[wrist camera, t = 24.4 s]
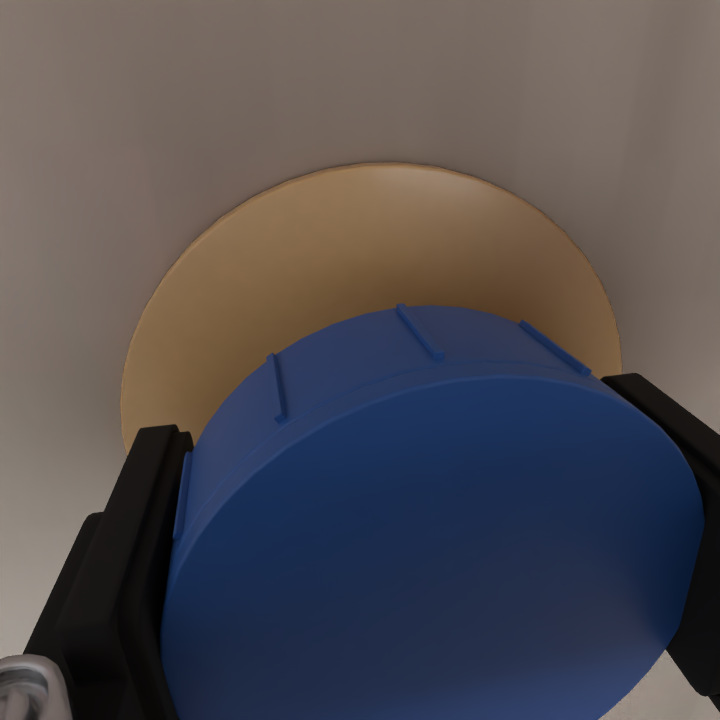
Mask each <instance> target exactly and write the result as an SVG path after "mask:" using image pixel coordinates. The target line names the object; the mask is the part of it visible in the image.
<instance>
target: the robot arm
mask: <svg viewBox="0 0 720 720" xmlns="http://www.w3.org/2000/svg"><path fill="white" fill-rule="evenodd" d="M600 381H602V382H603V383H604V384H606V385H607V386H608V387H610V388H611V389H612V390H614V391H615V392H616V393H617V394H619V395H620V396H621V397H623V398H624V399H625V400H627V401H628V402H629V403H631V404H632V405H633V406H635V407H636V408H637V409H639V410H640V411H641V412H642V413H644V414H645V415H646V416H647V417H649V418H650V419H651V420H652V421H654V422H655V423H656V424H658V425H659V426H660V427H661V428H662V429H663V430H664V431H665V433H666V434H667V435H668V436H669V437H670V438H671V439H672V441H673V442H674V443H675V444H676V445H677V446H678V447H679V449H680V451H681V452H682V454H683V456H684V458H685V459H686V461H687V463H688V465H689V466H690V468H691V470H692V472H693V474H694V477H695V480H696V483H697V486H698V488H699V491H700V494H701V497H702V503H703V509H704V516H705V525H704V530H703V534H702V538H701V542H700V546H699V550H698V554H697V558H696V562H695V566H694V570H693V574H692V578H691V582H690V586H689V590H688V594H687V598H686V602H685V606H684V610H683V614H682V618H681V622H680V625H679V628H678V630H677V631H676V633H675V635H674V636H673V638H672V640H671V641H670V643H669V644H668V646H667V648H666V650H667V652H668V653H669V655H670V656H671V657H672V659H673V660H674V662H675V663H676V665H677V666H678V667H679V669H680V670H681V672H682V673H683V675H684V676H685V677H686V679H687V680H688V682H689V683H690V684H691V686H692V687H693V688H694V689H695V691H696V692H698V693H699V694H700V695H702V696H708V697H709V698H710V699H711V701H712V702H713V704H714V705H715V706H716V708H717V709H718V711H719V712H720V435H719V434H717V433H716V432H715V431H713V430H712V429H711V428H709V427H708V426H707V425H706V424H704V423H703V422H702V421H700V420H699V419H698V418H696V417H695V416H694V415H692V414H691V413H690V412H688V411H687V410H686V409H684V408H683V407H682V406H681V405H679V404H678V403H677V402H675V401H674V400H673V399H671V398H670V397H669V396H667V395H666V394H665V393H663V392H662V391H661V390H660V389H658V388H657V387H656V386H654V385H653V384H652V383H650V382H649V381H648V380H646V379H645V378H644V377H642V376H641V375H639V374H637V373H630V374H621V375H612V376H604V377H602V378H601V379H600ZM193 449H194V444H193V439H192V436H191V433H190V432H189V431H185V432H180V431H179V429H178V426H177V425H176V424H170V425H161V426H152V427H143V428H140V429H139V431H138V433H137V435H136V437H135V440H134V442H133V444H132V447H131V449H130V451H129V454H128V456H127V458H126V461H125V463H124V465H123V468H122V470H121V473H120V475H119V477H118V480H117V482H116V484H115V487H114V489H113V491H112V494H111V496H110V498H109V501H108V503H107V505H106V508H105V510H104V512H98V513H92V514H90V515H89V516H88V517H87V518H86V520H85V521H84V523H83V525H82V527H81V529H80V531H79V533H78V536H77V538H76V540H75V542H74V544H73V546H72V548H71V551H70V553H69V555H68V557H67V559H66V561H65V564H64V566H63V568H62V570H61V572H60V574H59V577H58V579H57V581H56V583H55V585H54V587H53V590H52V592H51V594H50V596H49V598H48V600H47V602H46V605H45V607H44V609H43V611H42V613H41V615H40V618H39V620H38V622H37V624H36V626H35V628H34V631H33V633H32V635H31V637H30V639H29V641H28V643H27V646H26V648H25V650H24V652H23V654H22V655H15V656H8V657H5V658H2V659H0V720H179V718H178V717H177V714H176V711H175V708H174V704H173V701H172V698H171V695H170V691H169V688H168V685H167V681H166V677H165V674H164V670H163V666H162V663H161V659H160V624H161V617H162V610H163V603H164V596H165V589H166V582H167V576H168V569H169V562H170V555H171V549H172V542H173V531H174V525H175V518H176V511H177V504H178V497H179V490H180V483H181V476H182V469H183V462H184V457H185V454H186V452H187V451H188V452H191V453H192V451H193Z"/></svg>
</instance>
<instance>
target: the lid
mask: <svg viewBox="0 0 720 720" xmlns="http://www.w3.org/2000/svg"><path fill="white" fill-rule="evenodd" d="M266 360H267V361H266V362H265V363H264V364H262V365H261V366H260V367H259V368H258V369H256V370H255V371H254V372H253V373H251V374H250V375H249V376H248V377H246V378H245V379H244V381H243V382H242V383H241V384H240V385H239V386H238V387H237V388H236V389H235V390H234V391H233V392H232V393H231V394H230V395H229V396H228V397H227V398H226V399H225V400H224V402H223V403H222V404H221V406H220V407H219V408H218V410H217V411H216V413H215V414H214V415H213V417H212V418H211V419H210V421H209V422H208V424H207V425H206V426H205V428H204V430H203V432H202V434H201V436H200V438H199V440H198V441H197V443H196V445H195V447H194V449H193V451H192V453H191V452H188V451H187V452H186V454H185V457H184V462H183V469H182V476H181V483H180V490H179V497H178V504H177V511H176V518H175V525H174V531H173V542H172V549H171V555H170V562H169V569H168V576H167V582H166V589H165V596H164V603H163V610H162V617H161V624H160V659H161V663H162V666H163V670H164V674H165V677H166V681H167V685H168V688H169V691H170V695H171V698H172V701H173V704H174V708H175V711H176V714H177V717H178V718H179V720H598V719H599V718H600V717H602V716H603V715H604V714H606V713H607V712H608V711H609V710H610V709H611V708H613V707H614V706H615V705H616V704H617V703H618V702H619V701H620V700H621V699H622V698H623V697H624V696H626V695H627V694H628V693H629V692H630V691H631V690H632V689H633V688H634V687H635V685H636V684H637V683H638V682H639V681H640V680H641V679H642V678H643V677H644V676H645V674H646V673H647V672H648V671H649V670H650V669H651V667H652V666H653V665H654V664H655V662H656V661H657V660H658V658H659V657H660V656H661V654H662V653H663V652H664V650H665V649H666V648H667V646H668V644H669V643H670V641H671V640H672V638H673V636H674V635H675V633H676V631H677V630H678V628H679V625H680V622H681V618H682V614H683V610H684V606H685V602H686V598H687V594H688V590H689V586H690V582H691V578H692V574H693V570H694V566H695V562H696V558H697V554H698V550H699V546H700V542H701V538H702V534H703V530H704V525H705V516H704V509H703V503H702V497H701V494H700V491H699V488H698V486H697V483H696V480H695V477H694V474H693V472H692V470H691V468H690V466H689V465H688V463H687V461H686V459H685V458H684V456H683V454H682V452H681V451H680V449H679V447H678V446H677V445H676V444H675V443H674V442H673V441H672V439H671V438H670V437H669V436H668V435H667V434H666V433H665V431H664V430H663V429H662V428H661V427H660V426H659V425H658V424H656V423H655V422H654V421H652V420H651V419H650V418H649V417H647V416H646V415H645V414H644V413H642V412H641V411H640V410H639V409H637V408H636V407H635V406H633V405H632V404H631V403H629V402H628V401H627V400H625V399H624V398H623V397H621V396H620V395H619V394H617V393H616V392H615V391H614V390H612V389H611V388H610V387H608V386H607V385H606V384H604V383H603V382H602V381H600V380H599V379H598V378H596V377H595V376H594V375H593V374H591V372H592V370H591V369H590V368H588V367H587V366H586V365H584V364H583V363H582V362H580V361H579V360H578V359H576V358H575V357H574V356H572V355H571V354H570V353H568V352H567V351H566V350H564V349H563V348H562V347H560V346H559V345H558V344H556V343H555V342H554V341H552V340H551V339H550V338H548V337H547V336H546V335H544V334H543V333H542V332H540V331H539V330H538V329H536V328H535V327H534V326H532V325H531V324H530V323H528V322H527V321H524V320H521V321H520V323H516V322H514V321H511V320H508V319H506V318H503V317H500V316H497V315H495V314H492V313H487V312H482V311H478V310H473V309H468V308H463V307H450V306H436V305H426V306H410V307H407V306H406V305H405V304H404V303H402V304H397V305H396V308H392V309H386V310H381V311H376V312H371V313H365V314H362V315H359V316H356V317H353V318H350V319H347V320H344V321H341V322H337V323H334V324H332V325H330V326H327V327H325V328H323V329H321V330H319V331H317V332H314V333H312V334H310V335H308V336H306V337H304V338H301V339H300V340H298V341H297V342H295V343H293V344H292V345H290V346H288V347H287V348H285V349H284V350H282V351H280V352H279V353H277V354H276V355H274V353H271V354H270V355H268V356H267V357H266Z"/></svg>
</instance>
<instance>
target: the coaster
mask: <svg viewBox="0 0 720 720" xmlns="http://www.w3.org/2000/svg"><path fill="white" fill-rule="evenodd" d="M402 303H404V304H405V305H406V306H407V307H410V306H426V305H436V306H450V307H463V308H468V309H473V310H478V311H482V312H487V313H492V314H495V315H497V316H500V317H503V318H506V319H508V320H511V321H514V322H516V323H520V321H521V320H524V321H527V322H528V323H530V324H531V325H532V326H534V327H535V328H536V329H538V330H539V331H540V332H542V333H543V334H544V335H546V336H547V337H548V338H550V339H551V340H552V341H554V342H555V343H556V344H558V345H559V346H560V347H562V348H563V349H564V350H566V351H567V352H568V353H570V354H571V355H572V356H574V357H575V358H576V359H578V360H579V361H580V362H582V363H583V364H584V365H586V366H587V367H588V368H590V369H591V370H592V372H591V374H593V375H594V376H595V377H596V378H598V379H599V380H600V379H601V378H602V377H604V376H612V375H621V374H622V360H621V348H620V338H619V334H618V330H617V326H616V322H615V318H614V313H613V309H612V307H611V305H610V302H609V300H608V297H607V295H606V292H605V290H604V288H603V285H602V283H601V281H600V279H599V278H598V276H597V274H596V273H595V271H594V269H593V268H592V266H591V265H590V263H589V261H588V260H587V258H586V256H585V255H584V254H583V253H582V251H581V250H580V249H579V248H578V247H577V246H576V244H575V243H574V242H573V241H572V240H571V239H570V237H569V236H568V235H567V234H566V233H565V232H564V231H563V230H562V229H561V228H560V227H559V226H557V225H556V224H555V223H554V222H553V221H552V220H550V219H549V218H548V217H547V216H546V215H545V214H543V213H542V212H541V211H540V210H538V209H537V208H535V207H534V206H532V205H530V204H529V203H527V202H526V201H524V200H522V199H521V198H519V197H517V196H516V195H514V194H513V193H511V192H509V191H507V190H504V189H502V188H500V187H497V186H495V185H493V184H490V183H488V182H486V181H483V180H481V179H478V178H476V177H473V176H471V175H467V174H463V173H460V172H456V171H452V170H448V169H444V168H440V167H437V166H429V165H420V164H411V163H402V162H386V163H359V164H353V165H347V166H341V167H335V168H329V169H323V170H320V171H317V172H314V173H311V174H307V175H304V176H301V177H298V178H295V179H291V180H288V181H285V182H283V183H281V184H279V185H277V186H275V187H273V188H271V189H269V190H266V191H264V192H262V193H260V194H258V195H256V196H254V197H252V198H250V199H248V200H247V201H245V202H244V203H242V204H241V205H239V206H238V207H236V208H235V209H233V210H232V211H230V212H229V213H227V214H226V215H224V216H223V217H221V218H220V219H218V220H217V221H216V222H215V223H214V224H213V225H212V226H210V227H209V228H208V229H207V230H206V231H205V232H204V233H202V234H201V235H200V236H199V237H198V238H197V239H196V240H194V241H193V242H192V243H191V244H190V245H189V247H188V248H187V249H186V250H185V251H184V253H183V254H182V255H181V256H180V257H179V258H178V260H177V261H176V262H175V263H174V264H173V265H172V267H171V268H170V269H169V270H168V272H167V273H166V275H165V276H164V278H163V279H162V281H161V282H160V284H159V286H158V287H157V289H156V290H155V292H154V294H153V295H152V297H151V298H150V300H149V302H148V303H147V305H146V306H145V309H144V311H143V313H142V315H141V318H140V320H139V322H138V325H137V327H136V329H135V331H134V334H133V336H132V339H131V342H130V346H129V350H128V354H127V358H126V361H125V365H124V369H123V378H122V387H121V397H120V409H121V427H122V435H123V440H124V445H125V449H126V454H127V456H128V454H129V451H130V449H131V447H132V444H133V442H134V440H135V437H136V435H137V433H138V431H139V429H140V428H143V427H152V426H161V425H170V424H176V425H177V426H178V429H179V431H180V432H185V431H189V432H190V433H191V436H192V439H193V444H194V447H195V445H196V443H197V441H198V440H199V438H200V436H201V434H202V432H203V430H204V428H205V426H206V425H207V424H208V422H209V421H210V419H211V418H212V417H213V415H214V414H215V413H216V411H217V410H218V408H219V407H220V406H221V404H222V403H223V402H224V400H225V399H226V398H227V397H228V396H229V395H230V394H231V393H232V392H233V391H234V390H235V389H236V388H237V387H238V386H239V385H240V384H241V383H242V382H243V381H244V379H245V378H246V377H248V376H249V375H250V374H251V373H253V372H254V371H255V370H256V369H258V368H259V367H260V366H261V365H262V364H264V363H265V362H266V361H267V360H266V357H267V356H268V355H270V354H271V353H274V355H276V354H277V353H279V352H280V351H282V350H284V349H285V348H287V347H288V346H290V345H292V344H293V343H295V342H297V341H298V340H300V339H301V338H304V337H306V336H308V335H310V334H312V333H314V332H317V331H319V330H321V329H323V328H325V327H327V326H330V325H332V324H334V323H337V322H341V321H344V320H347V319H350V318H353V317H356V316H359V315H362V314H365V313H371V312H376V311H381V310H386V309H392V308H396V305H397V304H402Z"/></svg>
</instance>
